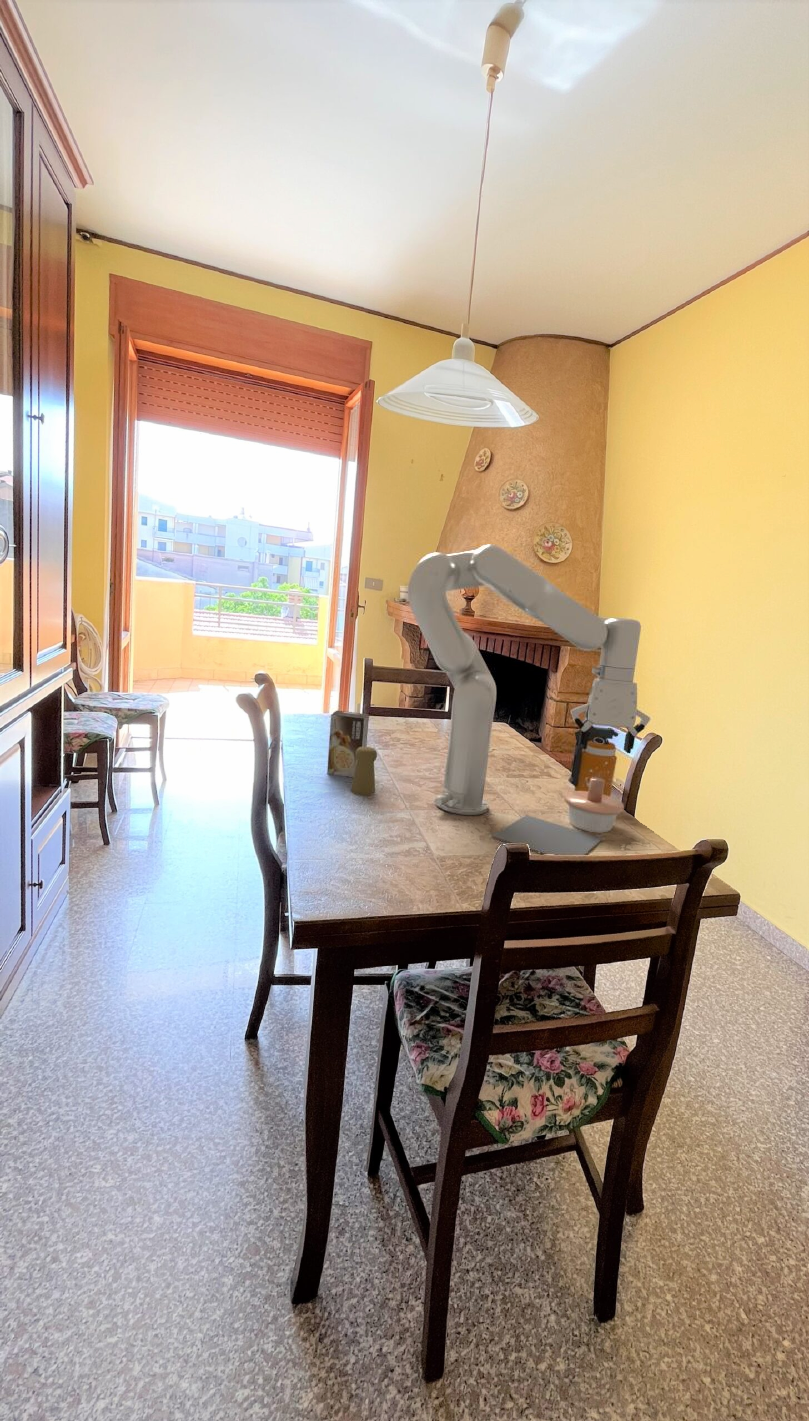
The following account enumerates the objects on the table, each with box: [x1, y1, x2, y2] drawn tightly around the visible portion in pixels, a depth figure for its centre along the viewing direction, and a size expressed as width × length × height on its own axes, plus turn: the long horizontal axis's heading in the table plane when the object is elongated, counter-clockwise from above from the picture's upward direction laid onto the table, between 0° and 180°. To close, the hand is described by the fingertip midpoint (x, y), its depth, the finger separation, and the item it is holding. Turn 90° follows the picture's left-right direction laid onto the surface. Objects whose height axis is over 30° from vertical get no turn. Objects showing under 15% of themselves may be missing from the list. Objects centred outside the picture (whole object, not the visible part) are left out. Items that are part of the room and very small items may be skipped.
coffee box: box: [326, 710, 370, 778], centre depth 164 cm, size 9×6×16 cm
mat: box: [491, 814, 604, 856], centre depth 134 cm, size 18×18×1 cm
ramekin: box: [567, 804, 619, 834], centre depth 145 cm, size 11×11×5 cm
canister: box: [567, 725, 619, 797], centre depth 161 cm, size 9×11×20 cm
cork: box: [350, 746, 378, 796], centre depth 152 cm, size 6×6×11 cm
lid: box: [564, 777, 625, 815], centre depth 144 cm, size 13×13×6 cm
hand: (605, 749), depth 142 cm, fingers open, 9 cm apart
